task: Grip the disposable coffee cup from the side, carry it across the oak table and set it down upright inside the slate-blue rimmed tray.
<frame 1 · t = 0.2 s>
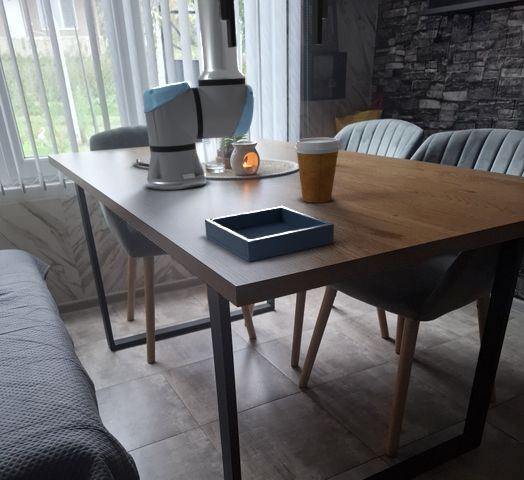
hand: (275, 46, 75), 28 cm above the table, tool pointing down, fingers open, 13 cm apart
tray: (267, 240, 81), on the table
disposable coffee cup: (316, 200, 106), on the table
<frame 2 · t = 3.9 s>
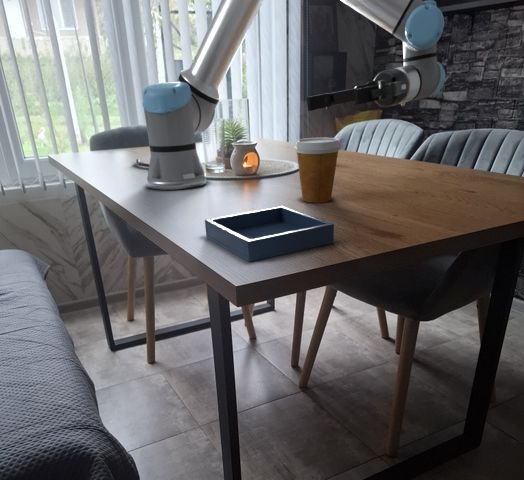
hand: (331, 100, 100), 19 cm above the table, tool horizontal, fingers open, 13 cm apart
nothing on the table moved.
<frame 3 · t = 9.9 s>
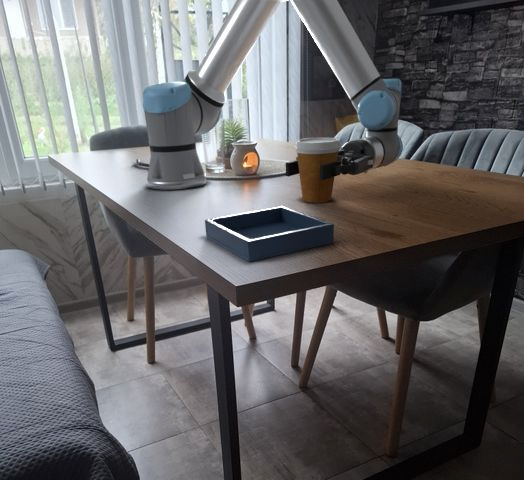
hand: (303, 171, 99), 7 cm above the table, tool horizontal, fingers closed on disposable coffee cup, 8 cm apart
disposable coffee cup: (316, 200, 106), on the table, touching gripper
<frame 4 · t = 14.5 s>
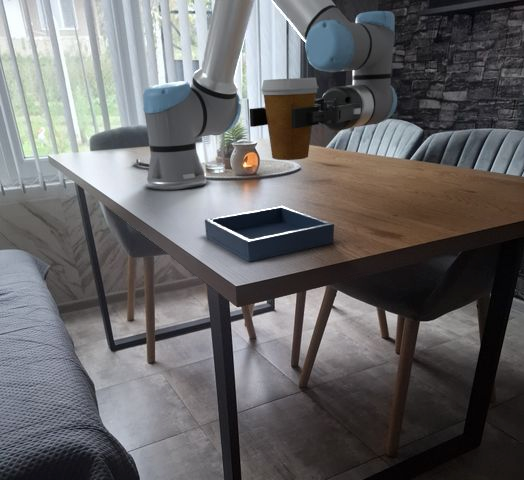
hand: (272, 118, 78), 18 cm above the table, tool horizontal, fingers closed on disposable coffee cup, 8 cm apart
disposable coffee cup: (290, 158, 85), point 11 cm above the table, touching gripper
when the fingers open (7 cm above the table, at t = 19.4 s): disposable coffee cup stays where it is, resting on tray.
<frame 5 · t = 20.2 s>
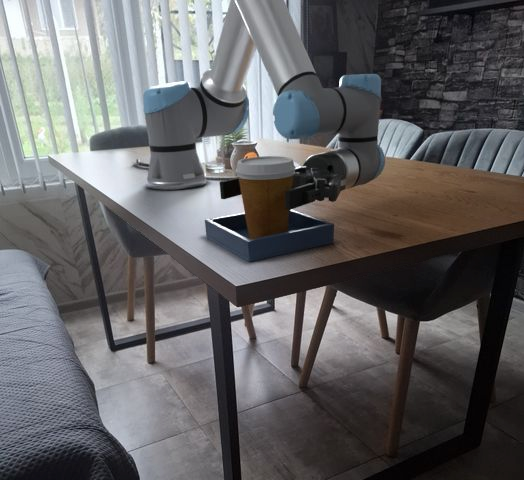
hand: (252, 195, 75), 8 cm above the table, tool horizontal, fingers open, 13 cm apart
disposable coffee cup: (267, 237, 81), resting on tray
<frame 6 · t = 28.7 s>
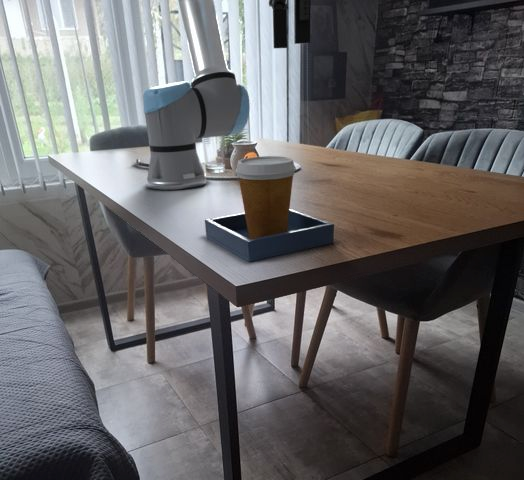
hand: (290, 46, 92), 29 cm above the table, tool pointing down, fingers open, 13 cm apart
nothing on the table moved.
at the end: disposable coffee cup inside the target area in the tray (0.0 cm from its centre), point 0.4 cm above the tray's base; disposable coffee cup tilted 0°; the gripper is holding nothing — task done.
